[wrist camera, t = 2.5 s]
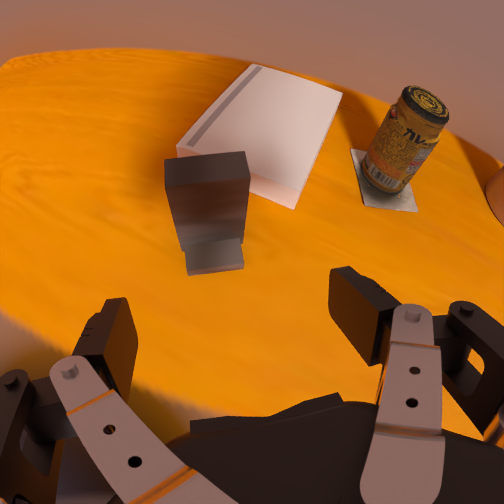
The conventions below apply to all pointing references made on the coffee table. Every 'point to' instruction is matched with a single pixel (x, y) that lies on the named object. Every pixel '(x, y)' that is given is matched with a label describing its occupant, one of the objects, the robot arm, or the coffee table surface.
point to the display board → (267, 129)
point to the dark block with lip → (209, 208)
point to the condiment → (400, 149)
